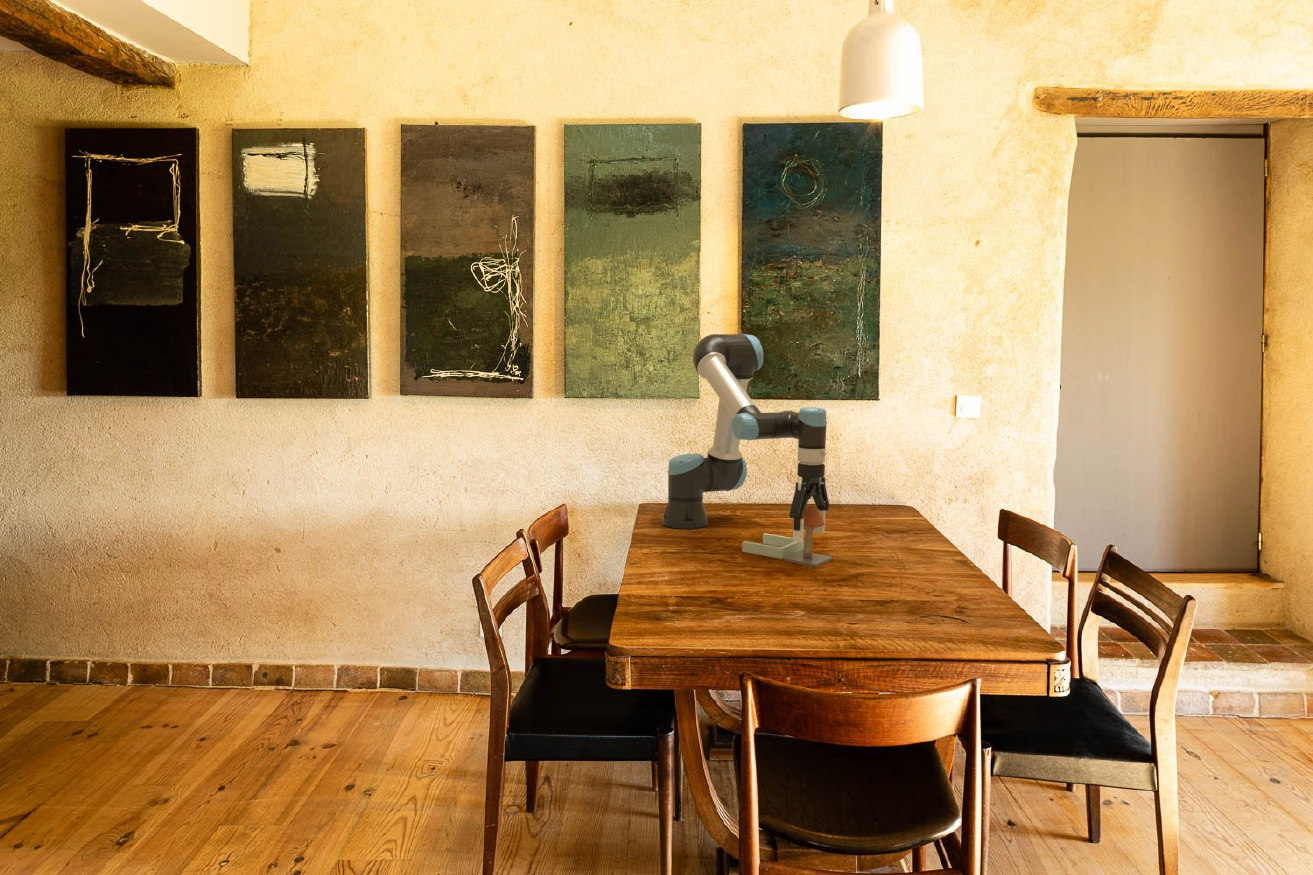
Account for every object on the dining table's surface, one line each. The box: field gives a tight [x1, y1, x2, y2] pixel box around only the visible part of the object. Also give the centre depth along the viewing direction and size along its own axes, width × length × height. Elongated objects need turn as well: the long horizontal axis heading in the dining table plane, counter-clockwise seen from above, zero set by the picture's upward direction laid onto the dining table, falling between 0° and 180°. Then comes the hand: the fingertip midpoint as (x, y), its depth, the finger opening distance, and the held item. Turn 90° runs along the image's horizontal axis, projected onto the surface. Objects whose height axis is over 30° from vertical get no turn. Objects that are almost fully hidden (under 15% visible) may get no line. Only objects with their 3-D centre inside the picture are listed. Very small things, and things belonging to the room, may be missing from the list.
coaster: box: [783, 550, 833, 568], centre depth 234 cm, size 10×10×1 cm
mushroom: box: [802, 505, 824, 558], centre depth 233 cm, size 8×8×15 cm
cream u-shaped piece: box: [741, 533, 805, 560], centre depth 244 cm, size 13×13×3 cm
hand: (809, 537), depth 233 cm, fingers open, 13 cm apart
